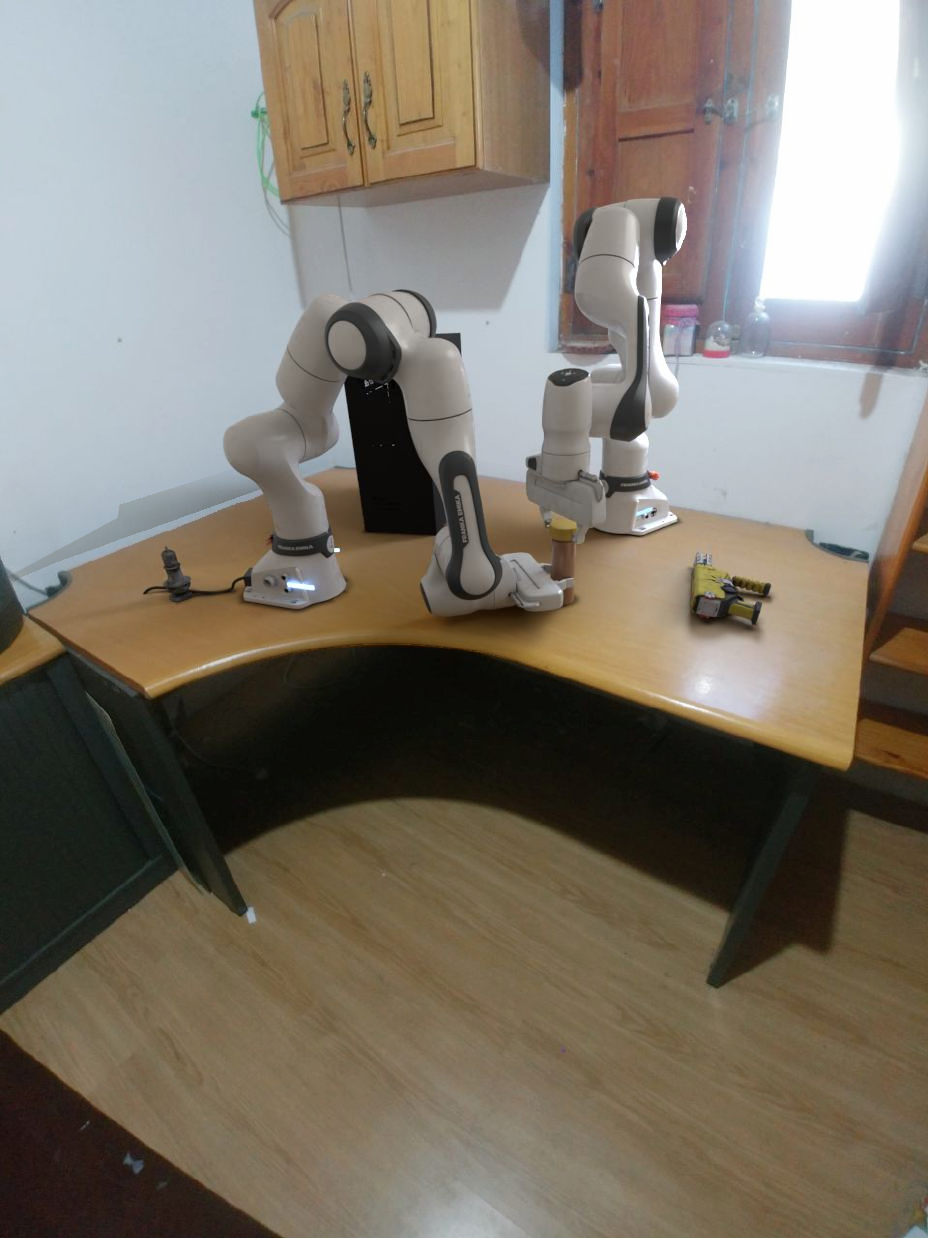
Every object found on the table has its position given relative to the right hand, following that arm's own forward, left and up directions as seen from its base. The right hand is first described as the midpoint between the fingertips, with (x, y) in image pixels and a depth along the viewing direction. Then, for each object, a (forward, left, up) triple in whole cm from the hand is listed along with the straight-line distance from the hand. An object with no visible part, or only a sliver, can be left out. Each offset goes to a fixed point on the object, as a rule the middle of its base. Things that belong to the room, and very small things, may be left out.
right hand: (563, 534), depth 118 cm
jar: (0, 0, -14) cm, 14 cm away
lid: (0, 0, +2) cm, 2 cm away
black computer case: (+5, -68, -14) cm, 69 cm away
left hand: (-1, 0, -9) cm, 9 cm away
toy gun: (-30, +16, -14) cm, 37 cm away
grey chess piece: (+72, -44, -14) cm, 86 cm away
